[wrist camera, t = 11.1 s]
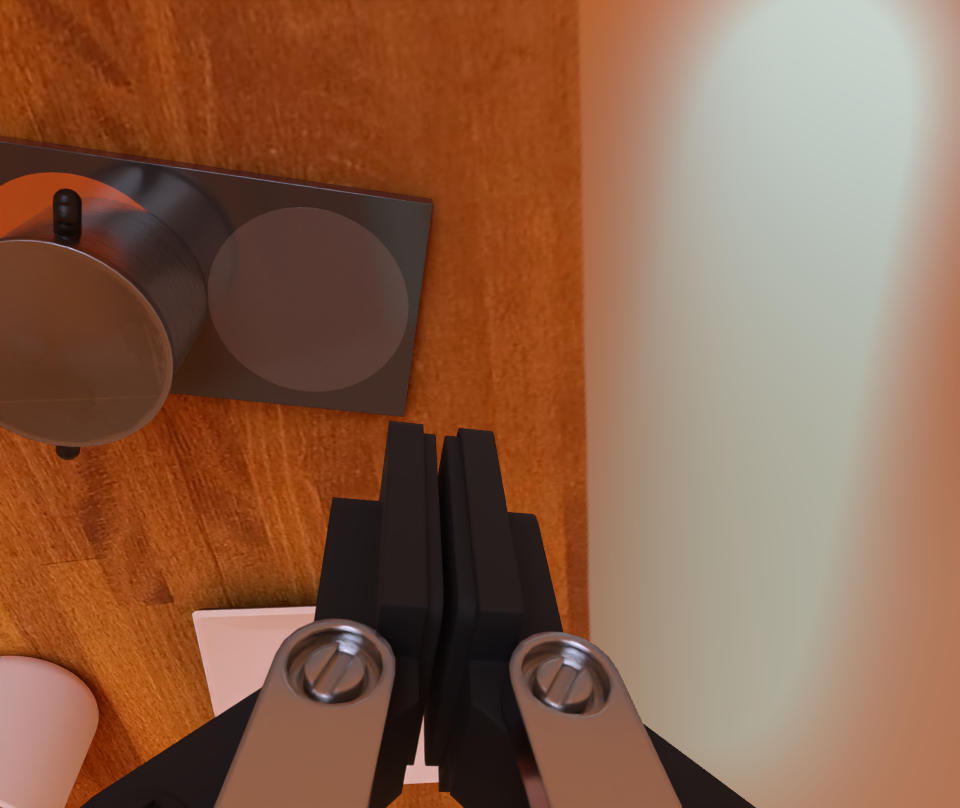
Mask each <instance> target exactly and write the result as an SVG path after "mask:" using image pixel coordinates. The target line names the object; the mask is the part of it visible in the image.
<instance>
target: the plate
mask: <svg viewBox="0 0 960 808" xmlns="http://www.w3.org/2000/svg"><path fill="white" fill-rule="evenodd" d="M315 610H316V604H314V605H286V606H258V607H231V608H203V609H199V610H197V611H195V612H194V613H193V614H192V616H193V621H194V625H195V630H196V634H197V639H198V643H199V648H200V652H201V657H202V661H203V666H204V670H205V675H206V679H207V683H208V688H209V692H210V697H211V701H212V706H213V710H214V715H215V717H217V716H218V715H220V714H221V713H223V712H224V711H226V710H227V709H229V708H230V707H232V706H234V705H235V704H237V703H238V702H240V701H241V700H243V699H244V698H246V697H247V696H249V695H250V694H252V693H254V692H255V691H257V690H258V689H260V688H261V687H262V686H263V684H264V681H265V679H266V676H267V674H268V671H269V669H270V666H271V664H272V661H273V659H274V656H275V654H276V652H277V650H278V649H279V647H280V646H281V644H282V642H283V641H284V639H286V638H287V637H288V636H289V635H290V634H292V633H293V632H294V631H295V630H296V629H298V628H300V627H303V626H305V625H307V624H309V623H311V622H314V617H315ZM432 782H439V777H438V766H425V761H424V716H423V721H422V726H421V731H420V736H419V741H418V747H417V752H416V757H415V762H414V765H413V766H409V765H407V767H406V772H405V778H404V783H403V784H415V783H432Z"/></svg>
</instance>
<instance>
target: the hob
mask: <svg viewBox="0 0 960 808" xmlns="http://www.w3.org/2000/svg"><path fill="white" fill-rule="evenodd" d="M63 188H67V189H72V190H74V191H75V192H77V193H78V194H79V196H80V198H86V197H92V198H105V199H111V200H116V201H120V202H123V203H127V204H129V205H132V206H134V207H137V208H139V209H141V210H143V211H145V212H147V213H149V214H151V215H153V216H154V217H156V218H157V219H158V220H160V221H161V222H163V223H164V224H165V225H167V226H168V227H169V228H170V229H171V230H172V231H174V232H175V233H176V234H177V235H178V237H179V238H180V239H181V240H182V241H183V242H184V243H185V244H186V246H187V247H188V249H189V250H190V251H191V253H192V254H193V256H194V258H195V260H196V261H197V263H198V265H199V267H200V270H201V272H202V275H203V278H204V282H205V286H206V292H207V312H206V318H205V321H204V324H203V327H202V330H201V332H200V333H199V335H198V337H197V339H196V341H195V342H194V344H193V346H192V347H191V349H190V351H189V353H188V354H187V356H186V358H185V359H184V361H183V363H182V364H181V366H180V368H179V370H178V371H177V373H176V375H175V376H174V382H173V385H172V388H171V391H170V393H176V394H185V395H195V396H205V397H215V398H225V399H235V400H244V401H254V402H264V403H274V404H284V405H294V406H303V407H313V408H323V409H333V410H343V411H352V412H362V413H372V414H382V415H392V416H402V417H404V415H405V407H406V400H407V393H408V385H409V378H410V370H411V363H412V356H413V348H414V341H415V334H416V326H417V319H418V311H419V304H420V297H421V289H422V282H423V275H424V267H425V260H426V252H427V245H428V238H429V230H430V223H431V216H432V208H433V200H432V199H429V198H422V197H415V196H408V195H401V194H395V193H388V192H381V191H374V190H367V189H360V188H354V187H347V186H340V185H333V184H326V183H319V182H313V181H306V180H299V179H292V178H285V177H278V176H272V175H265V174H258V173H251V172H244V171H238V170H231V169H224V168H217V167H210V166H203V165H197V164H190V163H183V162H176V161H169V160H162V159H156V158H149V157H142V156H135V155H128V154H121V153H115V152H108V151H101V150H94V149H87V148H80V147H74V146H67V145H60V144H53V143H46V142H39V141H33V140H26V139H19V138H12V137H5V136H0V237H2V236H4V235H5V234H7V233H8V232H10V231H11V230H13V229H14V228H16V227H18V226H19V225H21V224H22V223H24V222H25V221H27V220H29V219H30V218H32V217H33V216H35V215H36V214H38V213H39V212H41V211H43V210H44V209H46V208H48V207H50V206H52V205H53V196H54V194H55V193H56V192H57V191H58V190H60V189H63Z"/></svg>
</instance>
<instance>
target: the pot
mask: <svg viewBox="0 0 960 808" xmlns="http://www.w3.org/2000/svg"><path fill="white" fill-rule="evenodd" d="M206 312H207V292H206V286H205V282H204V278H203V275H202V272H201V270H200V267H199V265H198V263H197V261H196V260H195V258H194V256H193V254H192V253H191V251H190V250H189V249H188V247H187V246H186V244H185V243H184V242H183V241H182V240H181V239H180V238H179V237H178V235H177V234H176V233H175V232H174V231H172V230H171V229H170V228H169V227H168V226H167V225H165V224H164V223H163V222H161V221H160V220H158V219H157V218H156V217H154V216H153V215H151V214H149V213H147V212H145V211H143V210H141V209H139V208H137V207H134V206H132V205H129V204H127V203H123V202H120V201H116V200H111V199H105V198H92V197H86V198H80V196H79V194H78V193H77V192H75V191H74V190H72V189H67V188H63V189H60V190H58V191H57V192H56V193H55V194H54V196H53V205H52V206H50V207H48V208H46V209H44V210H43V211H41V212H39V213H38V214H36V215H35V216H33V217H32V218H30V219H29V220H27V221H25V222H24V223H22V224H21V225H19V226H18V227H16V228H14V229H13V230H11V231H10V232H8V233H7V234H5V235H4V236H2V237H0V426H1V427H3V428H5V429H7V430H9V431H11V432H13V433H16V434H18V435H21V436H23V437H26V438H29V439H32V440H35V441H38V442H43V443H47V444H52V445H56V453H57V455H58V456H59V457H60V458H62V459H64V460H71V459H74V458H76V457H77V456H78V455H79V453H80V447H87V446H98V445H102V444H107V443H112V442H114V441H117V440H120V439H123V438H125V437H127V436H129V435H131V434H133V433H135V432H137V431H138V430H140V429H141V428H143V427H144V426H145V425H147V424H148V423H149V422H150V421H151V420H152V419H153V418H154V417H155V416H156V414H157V413H158V412H159V410H160V409H161V408H162V406H163V405H164V403H165V401H166V399H167V397H168V395H169V393H170V391H171V388H172V385H173V382H174V376H175V375H176V373H177V371H178V370H179V368H180V366H181V364H182V363H183V361H184V359H185V358H186V356H187V354H188V353H189V351H190V349H191V347H192V346H193V344H194V342H195V341H196V339H197V337H198V335H199V333H200V332H201V330H202V327H203V324H204V321H205V318H206Z"/></svg>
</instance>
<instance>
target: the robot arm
mask: <svg viewBox="0 0 960 808" xmlns="http://www.w3.org/2000/svg"><path fill="white" fill-rule="evenodd" d="M423 716H424V761H425V766H438V777H439V792H450V795H451V796H452V797H453V798H454V799H455V800H456V801H457V802H458V803H460V804H461V805H462V806H463V807H464V808H755V807H754V806H753V805H751V804H750V803H749V802H747V801H746V800H745V799H743V798H742V797H741V796H739V795H738V794H737V793H735V792H734V791H733V790H731V789H730V788H729V787H727V786H726V785H724V784H723V783H722V782H721V781H719V780H718V779H717V778H715V777H714V776H713V775H711V774H710V773H709V772H707V771H706V770H705V769H703V768H702V767H700V766H699V765H698V764H696V763H695V762H694V761H692V760H691V759H690V758H688V757H687V756H686V755H684V754H683V753H682V752H680V751H679V750H678V749H676V748H675V747H674V746H672V745H671V744H669V743H668V742H667V741H666V740H664V739H663V738H662V737H660V736H659V735H658V734H656V733H655V732H654V731H652V730H651V729H650V728H648V727H647V726H646V725H644V724H643V723H642V721H641V718H640V716H639V714H638V712H637V710H636V708H635V706H634V703H633V701H632V699H631V697H630V695H629V693H628V691H627V688H626V686H625V684H624V682H623V680H622V678H621V676H620V674H619V672H618V670H617V668H616V667H615V666H614V664H613V662H612V661H611V659H610V658H609V657H608V656H607V655H606V654H605V653H604V652H603V651H602V650H600V649H599V648H598V647H597V646H596V645H594V644H592V643H590V642H588V641H587V640H585V639H583V638H581V637H578V636H575V635H571V634H568V633H564V632H563V629H562V624H561V620H560V616H559V611H558V607H557V603H556V598H555V594H554V590H553V585H552V581H551V577H550V572H549V568H548V564H547V559H546V555H545V551H544V546H543V542H542V537H541V533H540V529H539V524H538V521H537V518H536V516H535V515H534V514H525V513H513V512H507V506H506V500H505V495H504V489H503V483H502V478H501V472H500V467H499V461H498V455H497V450H496V444H495V438H494V434H493V432H492V431H484V430H474V429H464V428H459V429H458V432H457V436H456V437H455V436H445V438H444V442H443V448H442V454H441V460H440V466H439V472H438V471H437V452H436V435H435V434H425V433H424V430H423V424H414V423H404V422H394V421H389V426H388V434H387V442H386V450H385V458H384V466H383V474H382V482H381V490H380V498H379V501H370V500H359V499H347V498H335V497H333V499H332V505H331V511H330V518H329V524H328V531H327V538H326V544H325V551H324V557H323V564H322V571H321V577H320V584H319V590H318V597H317V604H316V610H315V617H314V622H311V623H309V624H307V625H305V626H303V627H300V628H298V629H296V630H295V631H294V632H293V633H292V634H290V635H289V636H288V637H287V638H286V639H284V641H283V642H282V644H281V646H280V647H279V649H278V650H277V652H276V654H275V656H274V659H273V661H272V664H271V666H270V669H269V671H268V674H267V676H266V679H265V681H264V684H263V686H262V687H261V688H260V689H258V690H257V691H255V692H254V693H252V694H250V695H249V696H247V697H246V698H244V699H243V700H241V701H240V702H238V703H237V704H235V705H234V706H232V707H230V708H229V709H227V710H226V711H224V712H223V713H221V714H220V715H218V716H217V717H215V718H213V719H212V720H210V721H209V722H207V723H206V724H204V725H203V726H201V727H200V728H198V729H197V730H195V731H193V732H192V733H190V734H189V735H187V736H186V737H184V738H183V739H181V740H180V741H178V742H176V743H175V744H173V745H172V746H170V747H169V748H167V749H166V750H164V751H163V752H161V753H160V754H158V755H156V756H155V757H153V758H152V759H150V760H149V761H147V762H146V763H144V764H143V765H141V766H139V767H138V768H136V769H135V770H133V771H132V772H130V773H129V774H127V775H126V776H124V777H123V778H121V779H119V780H118V781H116V782H115V783H113V784H112V785H110V786H109V787H107V788H106V789H104V790H103V791H101V792H99V793H98V794H96V795H95V796H93V797H92V798H91V799H90V800H89V801H87V802H86V803H85V804H84V805H83V806H81V807H80V808H386V807H387V806H388V805H389V804H390V803H391V802H393V801H394V800H395V799H396V798H397V797H398V796H399V795H400V794H401V793H402V788H403V783H404V778H405V772H406V767H407V765H409V766H413V765H414V762H415V757H416V752H417V747H418V741H419V736H420V731H421V726H422V721H423Z"/></svg>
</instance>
